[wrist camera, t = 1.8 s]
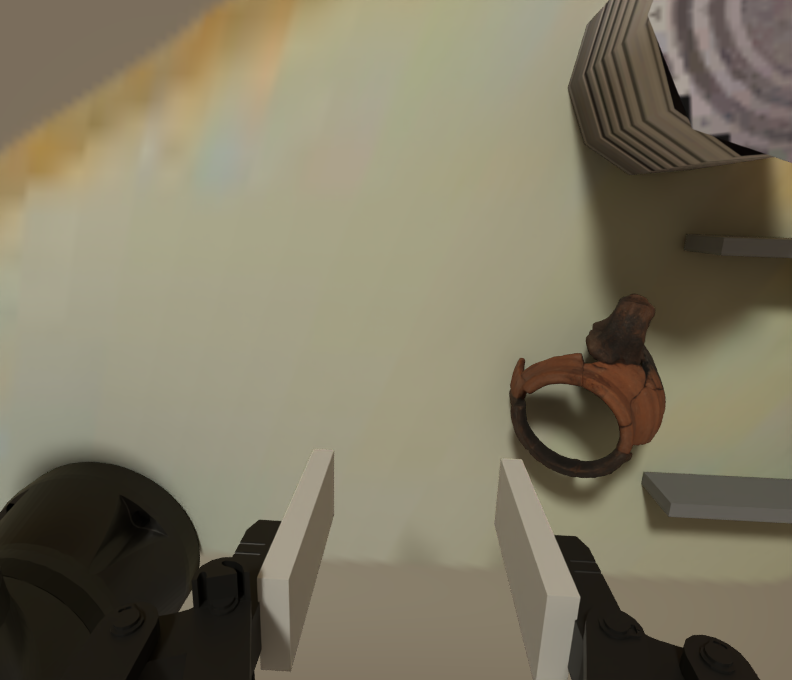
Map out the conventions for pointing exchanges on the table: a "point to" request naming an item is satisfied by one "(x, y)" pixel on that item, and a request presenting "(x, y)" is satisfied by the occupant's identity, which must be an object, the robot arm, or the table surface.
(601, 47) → the can
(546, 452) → the brown ring with knob
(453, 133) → the table surface
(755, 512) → the box
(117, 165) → the table surface
